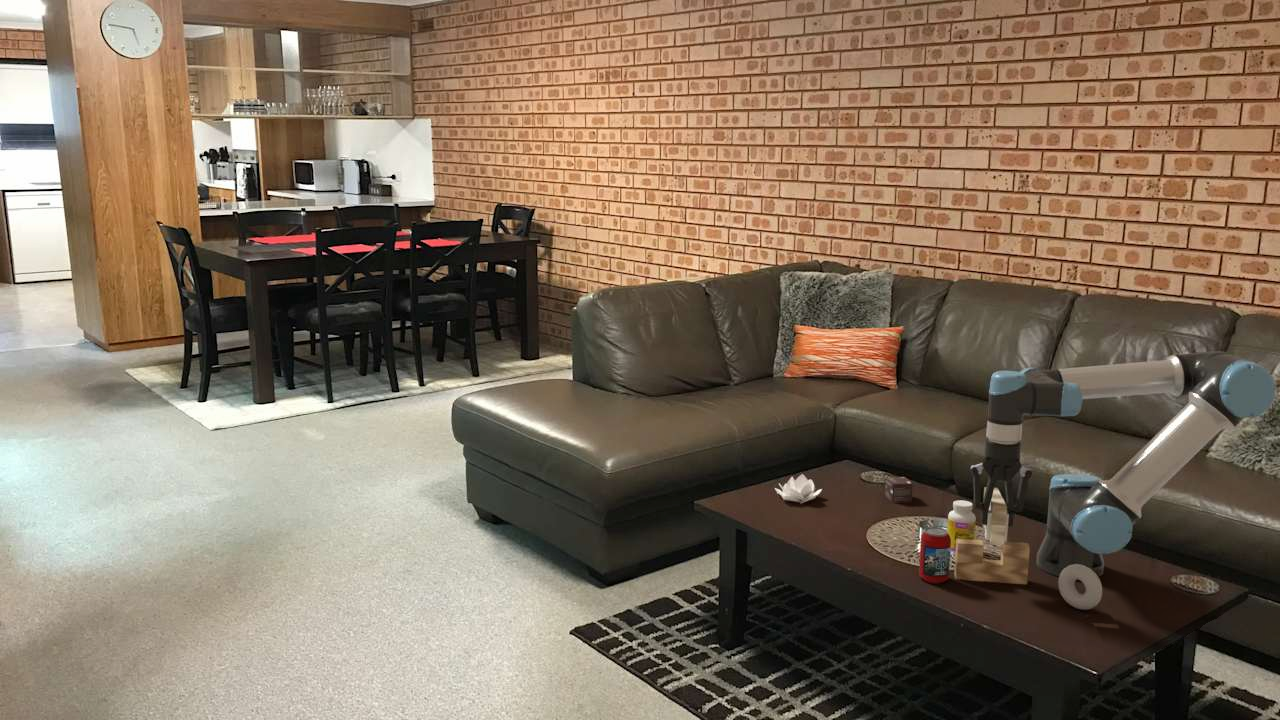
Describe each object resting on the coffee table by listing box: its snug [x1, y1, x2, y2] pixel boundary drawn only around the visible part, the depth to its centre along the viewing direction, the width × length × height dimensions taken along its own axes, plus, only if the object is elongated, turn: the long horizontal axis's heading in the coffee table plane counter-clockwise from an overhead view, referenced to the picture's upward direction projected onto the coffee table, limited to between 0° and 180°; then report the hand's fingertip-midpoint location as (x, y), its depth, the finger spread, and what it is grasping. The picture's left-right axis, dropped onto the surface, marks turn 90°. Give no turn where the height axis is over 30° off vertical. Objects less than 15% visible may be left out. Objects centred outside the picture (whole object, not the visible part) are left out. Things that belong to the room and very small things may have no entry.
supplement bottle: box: [946, 499, 977, 555], centre depth 263 cm, size 7×7×13 cm
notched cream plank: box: [982, 486, 1007, 545], centre depth 243 cm, size 14×3×9 cm, turn 170°
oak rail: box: [954, 539, 1031, 585], centre depth 246 cm, size 16×3×9 cm, turn 80°
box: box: [884, 476, 914, 504], centre depth 299 cm, size 6×6×7 cm
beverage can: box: [918, 526, 951, 584], centre depth 245 cm, size 7×7×12 cm
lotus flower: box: [774, 473, 823, 504], centre depth 298 cm, size 14×15×9 cm
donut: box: [1057, 564, 1103, 611], centre depth 230 cm, size 10×4×10 cm, turn 35°
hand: (995, 538), depth 240 cm, fingers closed on notched cream plank, 3 cm apart
